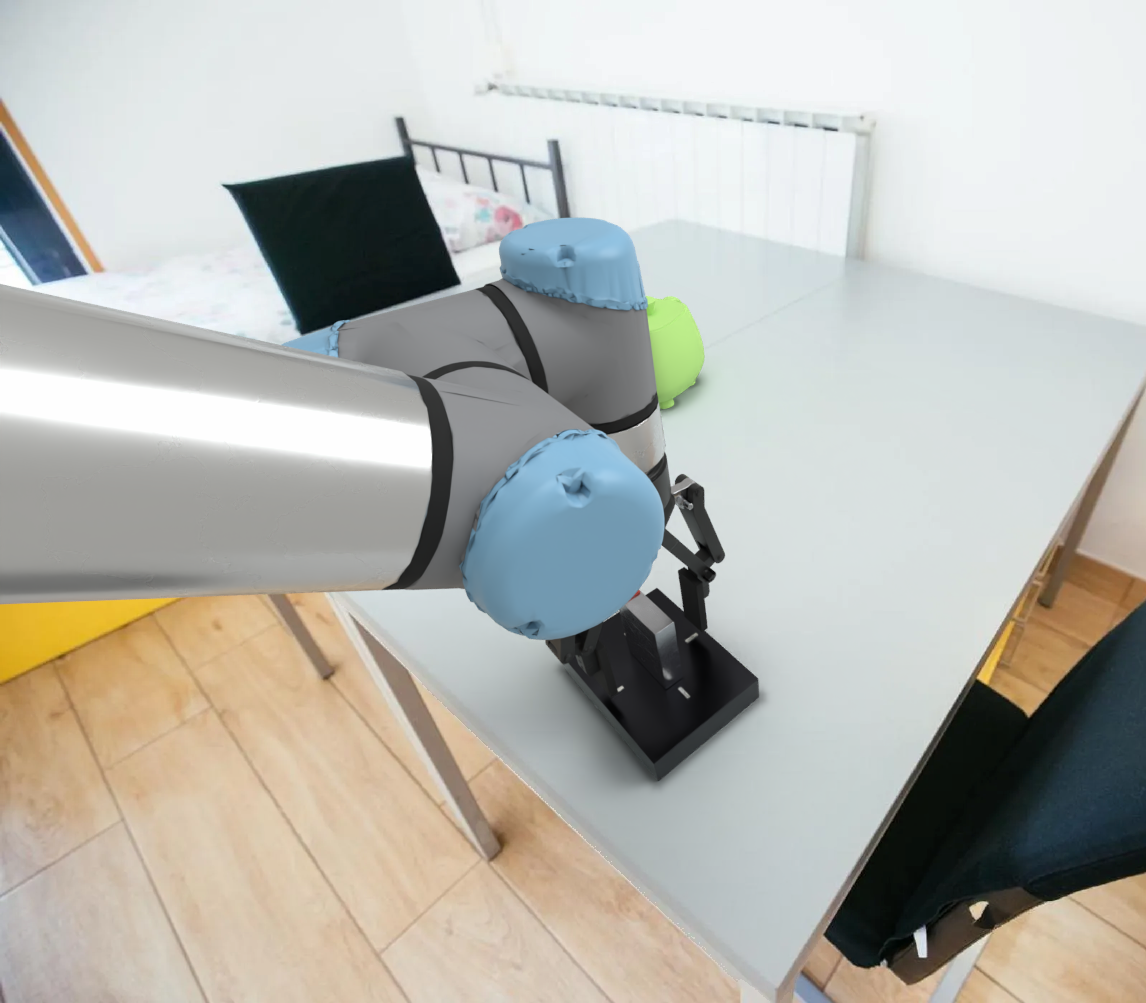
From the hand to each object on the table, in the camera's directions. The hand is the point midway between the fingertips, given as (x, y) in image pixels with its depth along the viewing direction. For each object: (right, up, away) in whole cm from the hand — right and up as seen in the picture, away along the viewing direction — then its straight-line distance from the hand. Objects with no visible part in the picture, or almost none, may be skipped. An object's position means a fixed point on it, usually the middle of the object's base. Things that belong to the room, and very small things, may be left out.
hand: (653, 652), depth 58 cm
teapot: (-11, +33, +48) cm, 60 cm away
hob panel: (0, -4, +3) cm, 5 cm away
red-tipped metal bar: (0, -1, +1) cm, 2 cm away
